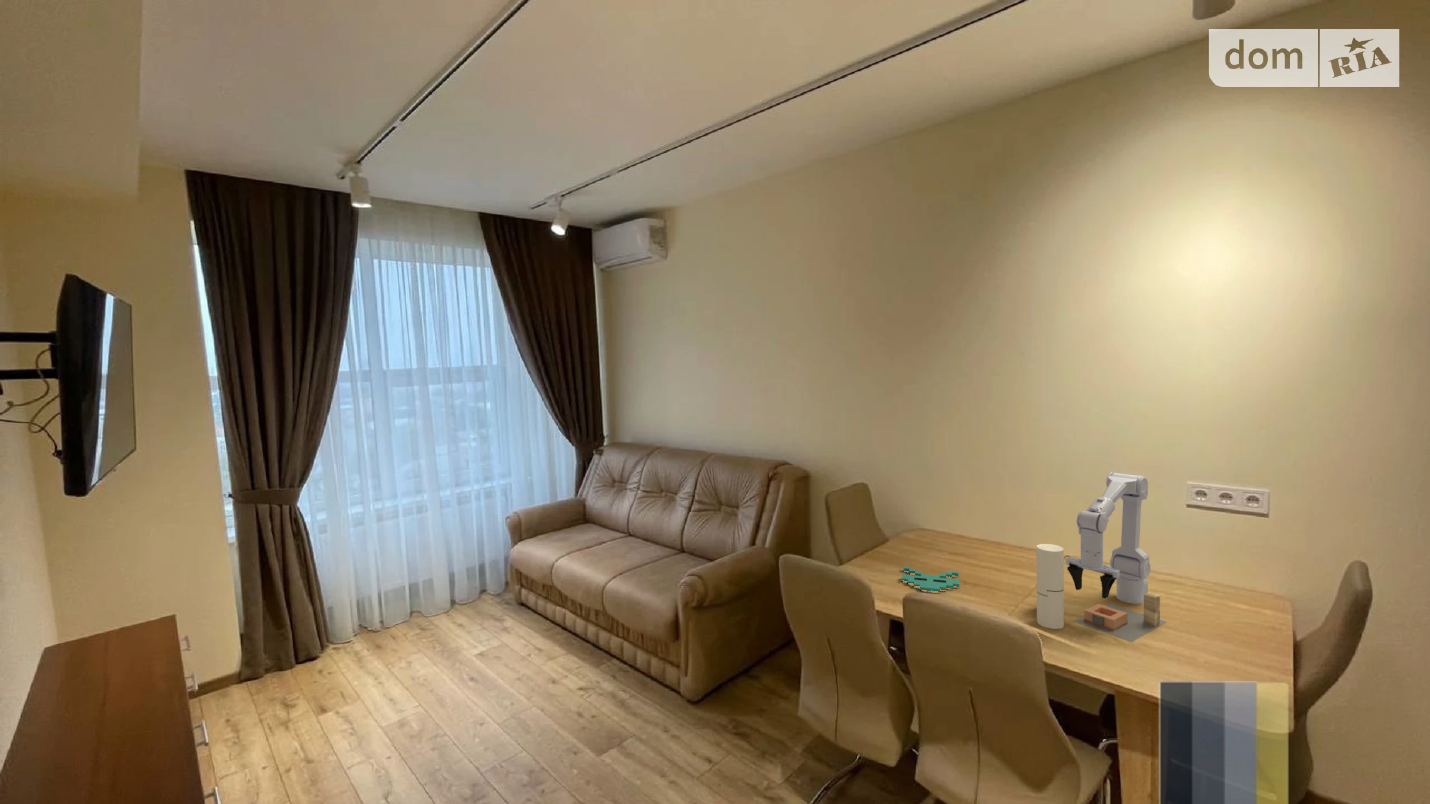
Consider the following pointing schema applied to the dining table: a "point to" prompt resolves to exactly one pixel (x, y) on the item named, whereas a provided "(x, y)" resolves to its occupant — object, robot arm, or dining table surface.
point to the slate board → (1130, 630)
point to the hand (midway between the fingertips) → (1091, 593)
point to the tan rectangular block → (1152, 609)
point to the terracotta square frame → (1105, 617)
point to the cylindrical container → (1050, 586)
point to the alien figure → (930, 580)
